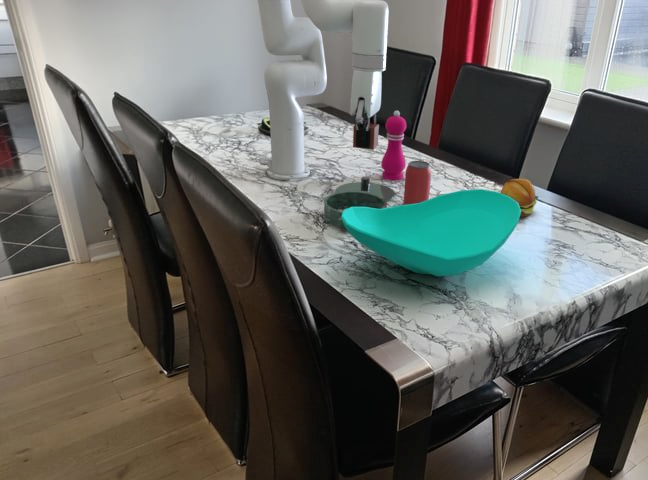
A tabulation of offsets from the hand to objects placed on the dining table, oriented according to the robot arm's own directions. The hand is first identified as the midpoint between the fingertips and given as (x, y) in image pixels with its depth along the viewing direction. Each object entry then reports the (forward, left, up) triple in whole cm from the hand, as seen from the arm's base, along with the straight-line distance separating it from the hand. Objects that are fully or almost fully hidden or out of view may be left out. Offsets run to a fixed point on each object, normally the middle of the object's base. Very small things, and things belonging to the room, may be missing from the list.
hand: (365, 143), depth 135 cm
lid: (-4, +16, -18) cm, 25 cm away
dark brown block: (0, 0, -1) cm, 1 cm away
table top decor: (+20, -21, -19) cm, 35 cm away
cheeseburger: (+37, +19, -19) cm, 46 cm away
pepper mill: (0, +33, -19) cm, 38 cm away
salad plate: (-50, +69, -19) cm, 87 cm away
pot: (-2, -1, -19) cm, 19 cm away
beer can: (+11, +12, -19) cm, 25 cm away
